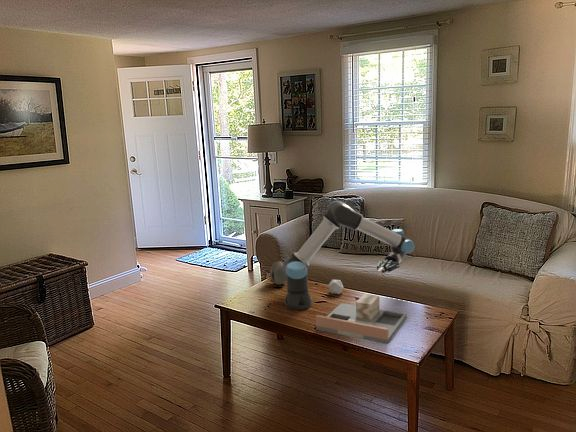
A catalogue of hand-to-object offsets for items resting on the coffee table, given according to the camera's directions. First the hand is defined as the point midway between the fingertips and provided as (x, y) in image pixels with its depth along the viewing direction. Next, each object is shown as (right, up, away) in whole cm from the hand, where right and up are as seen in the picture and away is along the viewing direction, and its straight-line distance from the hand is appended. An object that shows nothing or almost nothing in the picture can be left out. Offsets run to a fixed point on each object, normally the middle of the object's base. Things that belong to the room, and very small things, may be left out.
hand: (378, 273), depth 244 cm
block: (-7, -20, -10) cm, 23 cm away
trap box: (-11, -23, -16) cm, 30 cm away
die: (-20, -15, +26) cm, 36 cm away
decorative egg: (-53, -13, +45) cm, 71 cm away
